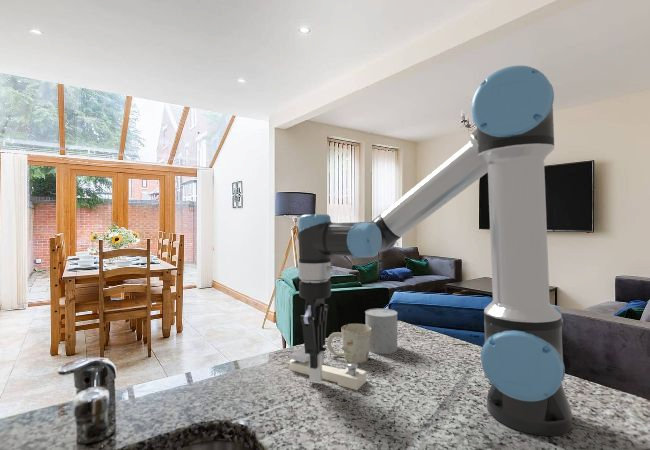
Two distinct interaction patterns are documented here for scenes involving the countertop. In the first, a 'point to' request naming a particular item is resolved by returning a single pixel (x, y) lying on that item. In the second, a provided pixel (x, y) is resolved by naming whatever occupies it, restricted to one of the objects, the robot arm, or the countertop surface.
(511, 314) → the robot arm
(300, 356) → the keeper
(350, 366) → the pintle
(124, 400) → the countertop surface
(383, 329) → the gray cylinder
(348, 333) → the mug
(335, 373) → the link
